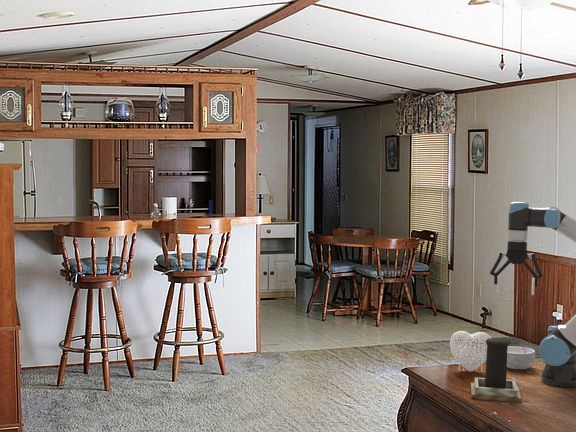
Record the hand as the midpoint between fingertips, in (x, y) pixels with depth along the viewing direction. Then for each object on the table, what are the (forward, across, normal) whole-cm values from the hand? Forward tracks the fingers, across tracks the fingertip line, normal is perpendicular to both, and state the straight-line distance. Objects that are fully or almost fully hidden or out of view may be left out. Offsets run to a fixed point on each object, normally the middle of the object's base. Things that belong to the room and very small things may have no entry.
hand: (515, 293), depth 343 cm
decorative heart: (+37, +16, -16) cm, 43 cm away
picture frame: (+37, +7, +18) cm, 41 cm away
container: (+35, +7, +18) cm, 40 cm away
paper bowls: (+37, -4, -30) cm, 48 cm away
